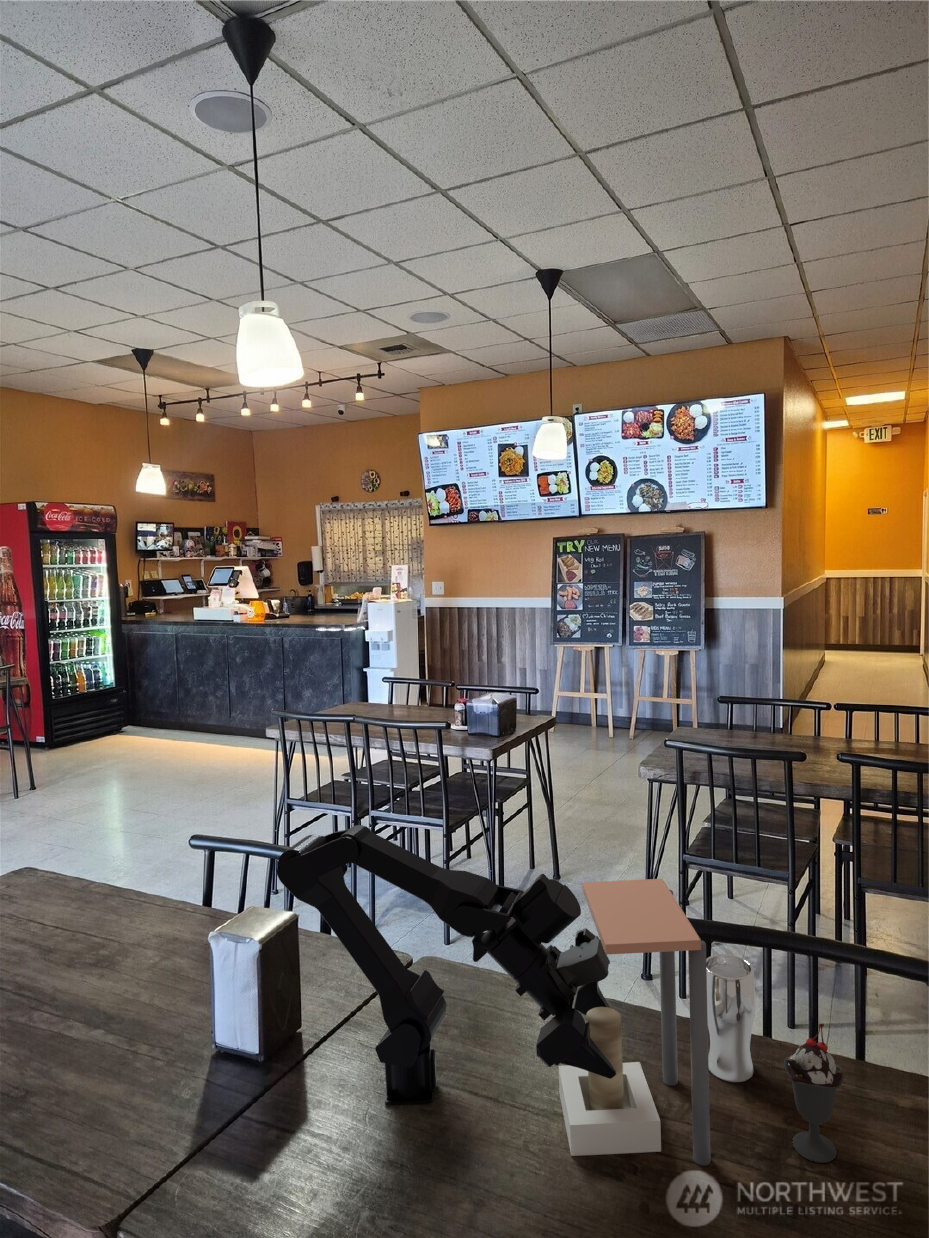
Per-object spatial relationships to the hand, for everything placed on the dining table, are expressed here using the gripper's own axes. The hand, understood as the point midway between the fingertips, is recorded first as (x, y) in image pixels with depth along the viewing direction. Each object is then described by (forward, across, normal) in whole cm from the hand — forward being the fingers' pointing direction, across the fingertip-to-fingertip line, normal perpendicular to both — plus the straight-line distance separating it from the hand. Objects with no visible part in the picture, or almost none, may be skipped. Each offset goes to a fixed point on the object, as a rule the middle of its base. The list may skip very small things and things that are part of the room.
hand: (616, 1051), depth 100 cm
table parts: (+8, +1, +6) cm, 10 cm away
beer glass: (+17, +14, -3) cm, 22 cm away
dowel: (+5, 0, +7) cm, 9 cm away
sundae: (+23, 0, -10) cm, 25 cm away
